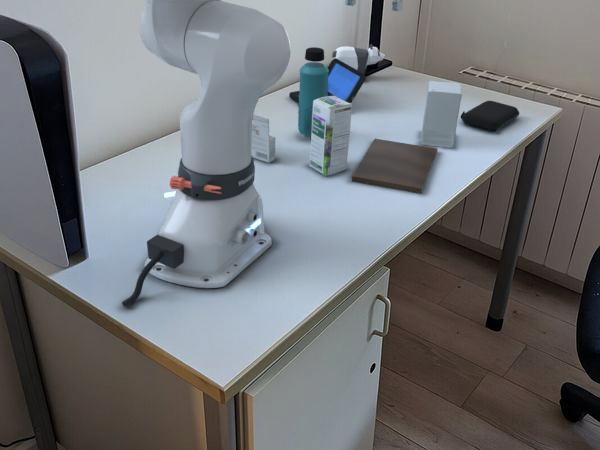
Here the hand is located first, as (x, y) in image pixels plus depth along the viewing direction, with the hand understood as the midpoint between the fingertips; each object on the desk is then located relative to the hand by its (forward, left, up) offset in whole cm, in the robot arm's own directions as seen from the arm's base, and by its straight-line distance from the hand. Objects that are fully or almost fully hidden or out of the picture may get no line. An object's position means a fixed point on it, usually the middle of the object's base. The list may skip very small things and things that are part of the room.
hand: (373, 7), depth 128 cm
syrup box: (-7, +5, -32) cm, 33 cm away
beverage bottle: (+7, +13, -32) cm, 35 cm away
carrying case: (+32, -24, -32) cm, 51 cm away
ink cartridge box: (-7, +22, -32) cm, 39 cm away
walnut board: (-1, -8, -31) cm, 32 cm away
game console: (+28, +16, -32) cm, 45 cm away
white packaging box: (+16, -14, -32) cm, 38 cm away
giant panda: (+50, +14, -32) cm, 61 cm away
